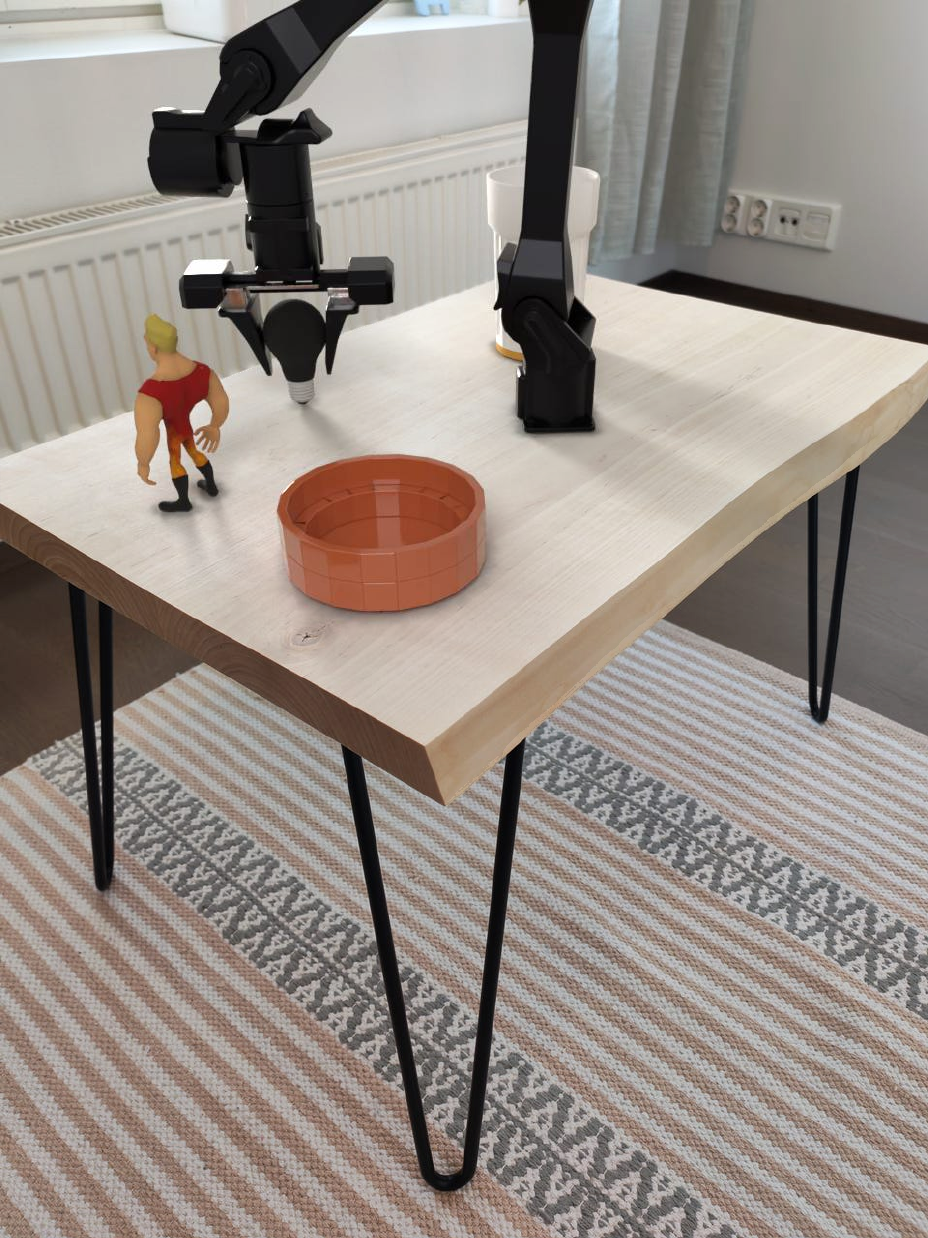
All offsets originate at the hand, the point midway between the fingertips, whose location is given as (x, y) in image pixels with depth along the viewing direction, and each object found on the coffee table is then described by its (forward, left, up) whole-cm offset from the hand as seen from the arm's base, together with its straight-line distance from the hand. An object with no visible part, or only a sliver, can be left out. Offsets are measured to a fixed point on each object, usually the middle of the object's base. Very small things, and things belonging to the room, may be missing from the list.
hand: (300, 373), depth 93 cm
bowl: (-9, +29, -3) cm, 31 cm away
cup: (-24, -14, -3) cm, 28 cm away
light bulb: (0, 0, -3) cm, 3 cm away
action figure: (+7, +19, -3) cm, 20 cm away
